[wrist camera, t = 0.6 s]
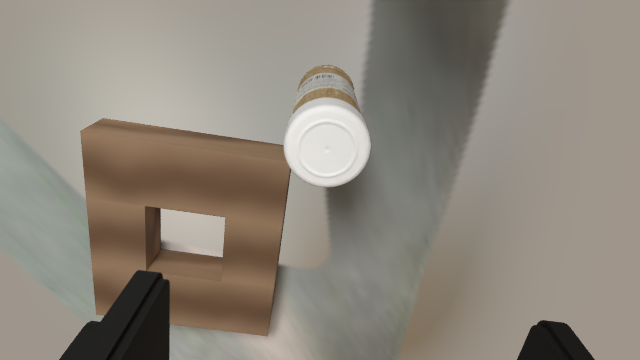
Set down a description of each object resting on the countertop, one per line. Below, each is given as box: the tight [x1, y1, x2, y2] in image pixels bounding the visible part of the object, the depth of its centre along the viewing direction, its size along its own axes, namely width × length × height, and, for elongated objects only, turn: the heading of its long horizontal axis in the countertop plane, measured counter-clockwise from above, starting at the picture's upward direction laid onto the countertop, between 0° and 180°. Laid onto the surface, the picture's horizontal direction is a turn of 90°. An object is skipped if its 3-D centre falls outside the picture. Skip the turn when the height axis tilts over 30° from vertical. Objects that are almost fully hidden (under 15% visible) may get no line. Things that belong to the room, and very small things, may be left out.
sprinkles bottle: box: [283, 65, 371, 187], centre depth 27 cm, size 5×5×13 cm
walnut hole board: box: [80, 118, 291, 336], centre depth 37 cm, size 18×16×4 cm
